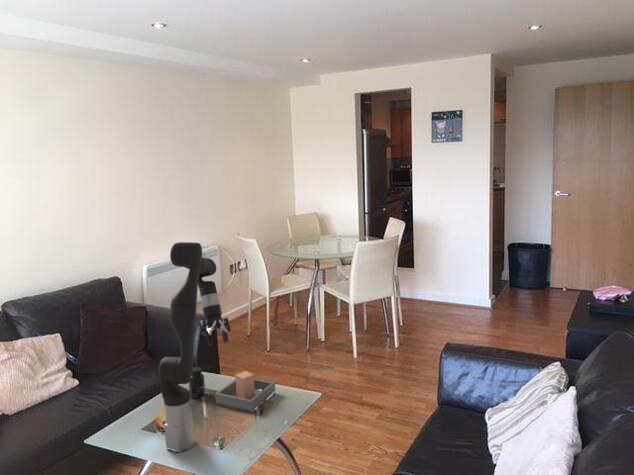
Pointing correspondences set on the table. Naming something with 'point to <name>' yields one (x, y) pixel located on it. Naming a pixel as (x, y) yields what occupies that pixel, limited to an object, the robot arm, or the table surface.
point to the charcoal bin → (230, 399)
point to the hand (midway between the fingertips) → (218, 343)
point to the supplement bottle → (197, 383)
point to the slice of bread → (160, 419)
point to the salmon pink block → (245, 385)
